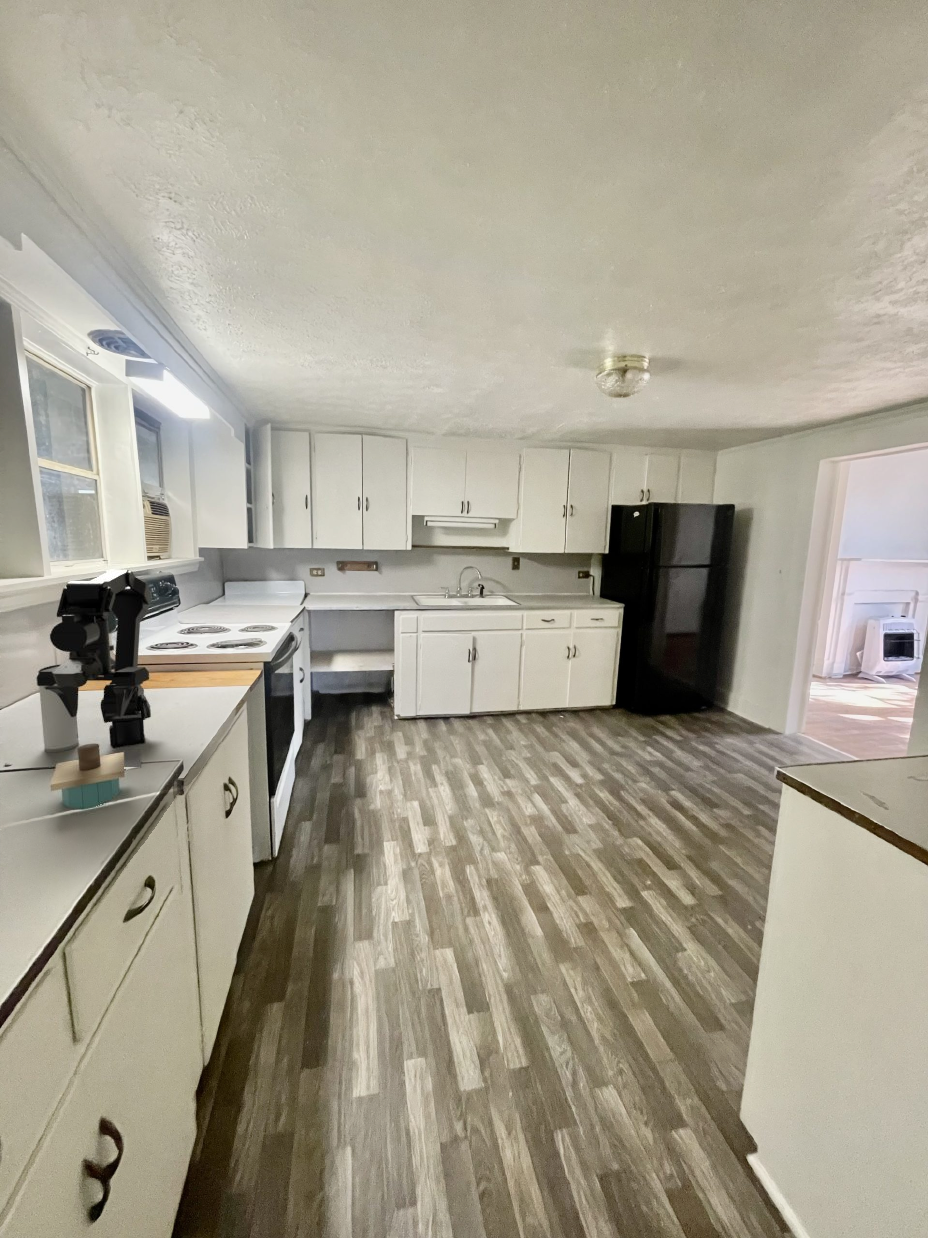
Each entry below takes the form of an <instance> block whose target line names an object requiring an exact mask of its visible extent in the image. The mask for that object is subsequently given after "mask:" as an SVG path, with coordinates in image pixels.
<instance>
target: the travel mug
mask: <svg viewBox="0 0 928 1238" xmlns="http://www.w3.org/2000/svg"><path fill="white" fill-rule="evenodd" d="M63 663H64V662H62V663H61V664H63ZM61 664H55V665H49V666H46V667H43V668H40V669H39V670H38V671H37V672H38V674H39V672H40V671H44V670H47V669H50V668H54V667H59V666H60V665H61ZM44 687H46V686H38V688H39V698H40V711H41V723H42V735H43V736H42V737H43V744H44V747H43V748H44V752H48V753H56V752H57V753H58V752H63V751H68V750H71V749H75V748H76V747H79V744H80V742H79V728H78V717H77V716H78V715H77V716H75V717H71V716H70V714H69V712H68V711H67V709H66V707H65V706H64V704H63V702H62V700H61V699H60V698H59V696H58V695H57V694H56V693H54V692H52V691H50V690H46V689H45V688H44Z"/></svg>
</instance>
